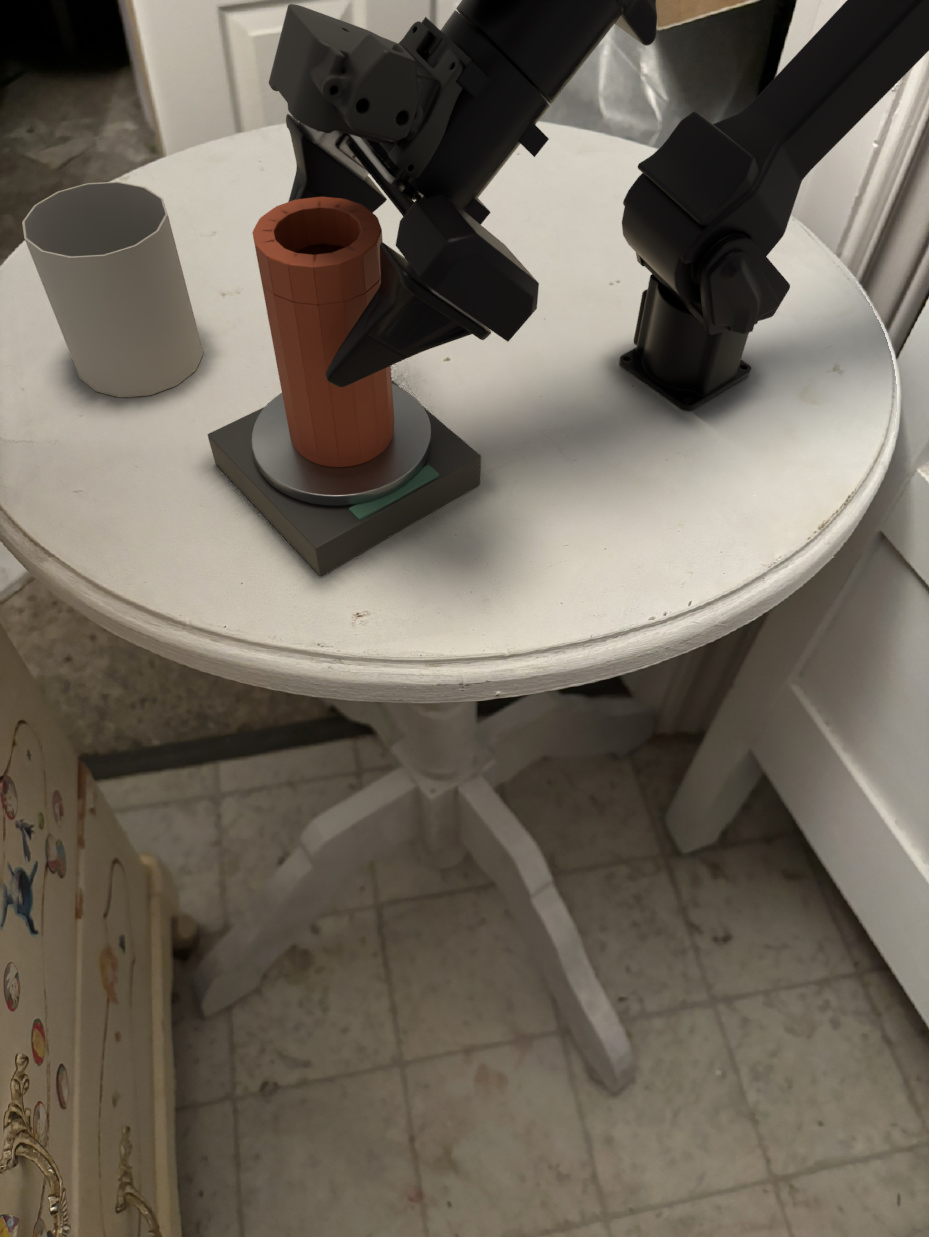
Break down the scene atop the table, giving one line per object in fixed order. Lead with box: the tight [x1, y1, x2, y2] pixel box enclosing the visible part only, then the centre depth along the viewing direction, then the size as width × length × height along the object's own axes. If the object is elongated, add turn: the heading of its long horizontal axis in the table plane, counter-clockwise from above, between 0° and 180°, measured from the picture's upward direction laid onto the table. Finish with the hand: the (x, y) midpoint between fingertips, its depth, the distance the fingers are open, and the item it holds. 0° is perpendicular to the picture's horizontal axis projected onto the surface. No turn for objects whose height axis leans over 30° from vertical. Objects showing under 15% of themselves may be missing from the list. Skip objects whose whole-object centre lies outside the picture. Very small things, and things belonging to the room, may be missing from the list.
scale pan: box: [251, 384, 431, 506], centre depth 54 cm, size 10×10×1 cm
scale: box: [207, 380, 482, 577], centre depth 56 cm, size 12×12×3 cm
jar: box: [252, 197, 394, 467], centre depth 49 cm, size 6×6×12 cm
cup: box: [21, 181, 205, 398], centre depth 59 cm, size 8×8×10 cm
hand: (301, 329), depth 48 cm, fingers open, 9 cm apart
